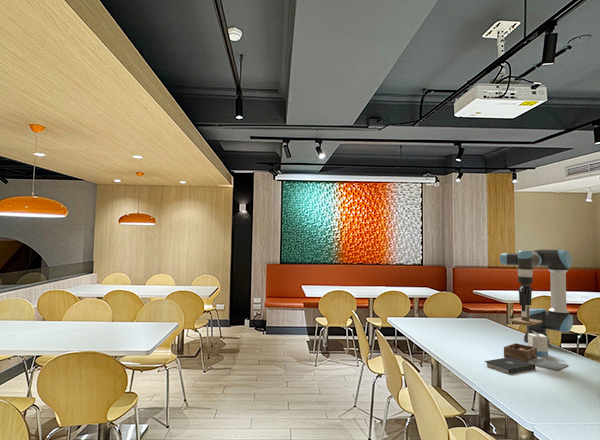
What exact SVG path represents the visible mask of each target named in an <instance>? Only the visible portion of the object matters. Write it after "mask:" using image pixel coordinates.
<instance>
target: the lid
mask: <svg viewBox="0 0 600 440" xmlns="http://www.w3.org/2000/svg"><path fill="white" fill-rule="evenodd" d="M507 321H508V322H511V323H512V324H516V325H522V326H526V327H527V326H530V325H535V324H538V323H542V322H543V321H541V320H535V319H529V307H527V317H522V316H519V317H514V318H510V319H507Z"/></svg>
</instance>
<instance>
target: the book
mask: <svg viewBox="0 0 600 440" xmlns="http://www.w3.org/2000/svg"><path fill="white" fill-rule="evenodd" d="M484 363H486V367H488V368H492V369H494V370H497V371H501V372H503V373H506V374H508V375H513V374H517V373H519V374H520V373H522V372H523V373H524V372H528V371H533V370H536V366H535V364H532V363H531V362H529V361H528V362H525V361H521V360H518V359H515V358H511V357H507V358H505V357H501V358H496V359H490V360H485V361H484Z"/></svg>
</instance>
